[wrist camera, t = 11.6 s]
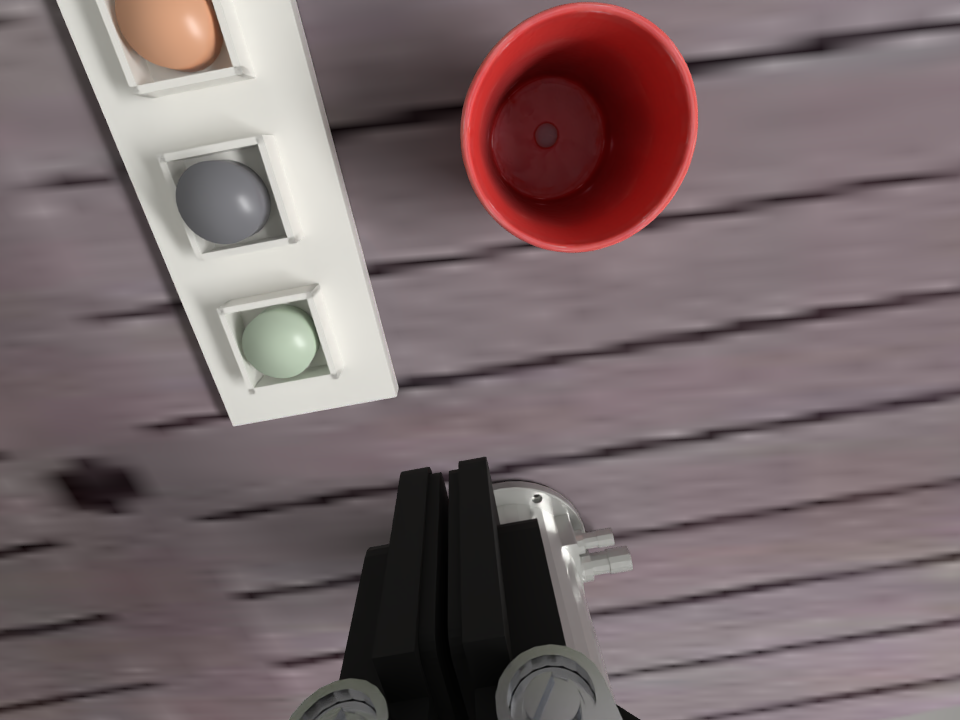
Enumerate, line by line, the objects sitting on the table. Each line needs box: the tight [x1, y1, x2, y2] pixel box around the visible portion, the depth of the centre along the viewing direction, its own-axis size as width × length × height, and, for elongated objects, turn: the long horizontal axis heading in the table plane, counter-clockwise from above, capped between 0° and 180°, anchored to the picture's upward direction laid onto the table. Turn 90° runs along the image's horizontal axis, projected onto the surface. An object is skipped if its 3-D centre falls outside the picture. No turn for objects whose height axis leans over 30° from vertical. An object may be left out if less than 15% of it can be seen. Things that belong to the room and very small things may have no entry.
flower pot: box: [460, 2, 698, 253], centre depth 28 cm, size 11×11×10 cm
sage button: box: [242, 304, 320, 378], centre depth 34 cm, size 4×4×2 cm
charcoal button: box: [176, 160, 271, 244], centre depth 30 cm, size 4×4×2 cm
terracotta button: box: [115, 0, 223, 72], centre depth 27 cm, size 4×4×2 cm
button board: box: [56, 0, 398, 426], centre depth 32 cm, size 12×30×4 cm, turn 10°
